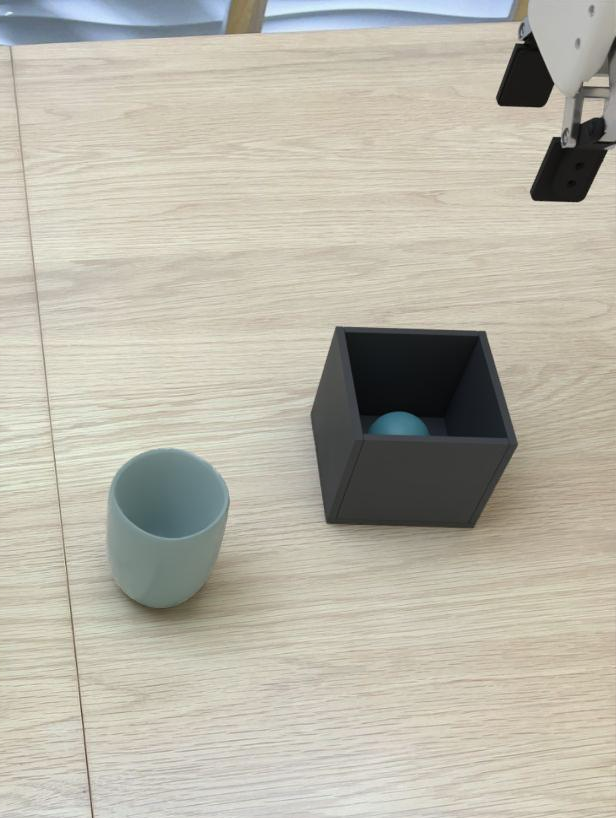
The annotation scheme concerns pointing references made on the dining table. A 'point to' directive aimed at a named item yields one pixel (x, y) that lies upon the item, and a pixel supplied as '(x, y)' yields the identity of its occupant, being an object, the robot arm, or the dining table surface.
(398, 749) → the dining table surface
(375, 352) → the bin
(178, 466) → the cup
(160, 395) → the dining table surface
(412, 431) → the teal ball
